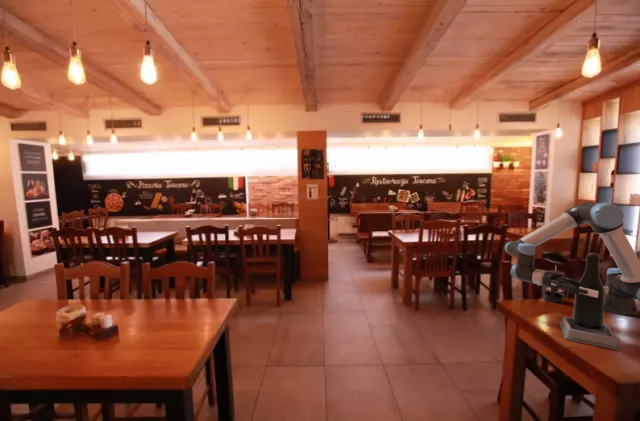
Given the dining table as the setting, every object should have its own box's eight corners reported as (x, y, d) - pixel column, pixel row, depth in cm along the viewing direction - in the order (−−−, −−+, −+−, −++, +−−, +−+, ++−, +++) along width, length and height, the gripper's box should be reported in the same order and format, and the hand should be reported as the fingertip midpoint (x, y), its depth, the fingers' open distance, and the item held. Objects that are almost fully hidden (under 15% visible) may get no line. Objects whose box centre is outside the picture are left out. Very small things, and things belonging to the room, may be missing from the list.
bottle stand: (608, 332, 146) (608, 323, 145) (620, 350, 130) (621, 340, 130) (559, 323, 155) (560, 315, 154) (565, 339, 139) (566, 329, 139)
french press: (540, 299, 186) (543, 261, 184) (544, 295, 193) (547, 259, 191) (565, 305, 178) (568, 265, 176) (568, 301, 184) (571, 262, 182)
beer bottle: (609, 329, 138) (616, 255, 135) (589, 331, 136) (596, 256, 133) (584, 319, 148) (590, 250, 145) (566, 320, 146) (572, 250, 143)
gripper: (556, 282, 162) (612, 296, 142) (532, 289, 151) (590, 305, 132) (557, 268, 161) (614, 280, 142) (533, 274, 150) (592, 288, 131)
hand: (602, 292), depth 137 cm, fingers closed on beer bottle, 9 cm apart
